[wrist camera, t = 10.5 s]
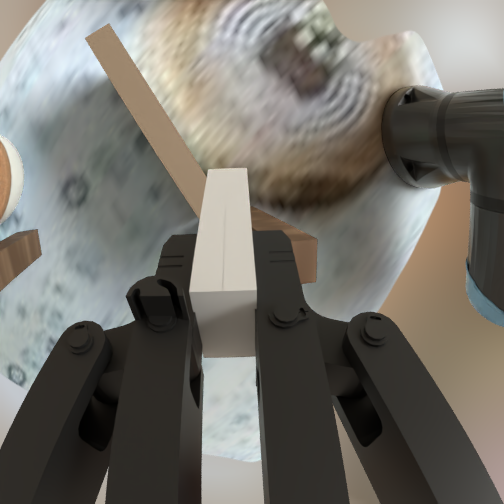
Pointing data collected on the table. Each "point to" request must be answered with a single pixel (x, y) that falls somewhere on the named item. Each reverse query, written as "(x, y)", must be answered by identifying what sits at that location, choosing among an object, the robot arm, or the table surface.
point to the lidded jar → (9, 178)
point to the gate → (149, 115)
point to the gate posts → (304, 246)
